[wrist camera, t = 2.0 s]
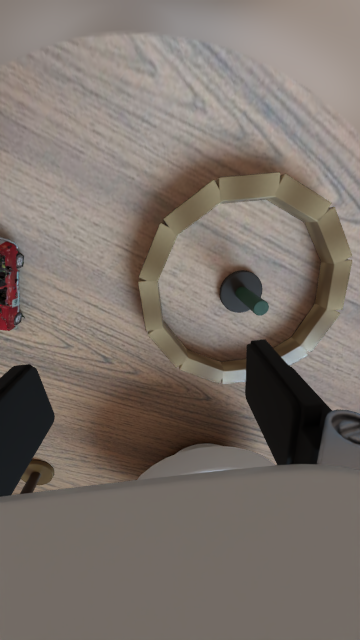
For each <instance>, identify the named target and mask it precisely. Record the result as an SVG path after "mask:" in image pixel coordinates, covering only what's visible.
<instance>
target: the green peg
mask: <svg viewBox="0 0 360 640" xmlns="http://www.w3.org/2000/svg"><path fill="white" fill-rule="evenodd" d="M261 295H262V284H261V282H260V280H259V278H258V277H257V276H256V275H255V274H253V273H251V272H248V271H237V272H234V273H232V274H230V275H229V276H228V277H227V278H226V279H225V280H224V281H223V283H222V285H221V288H220V299H221V301H222V303H223V305H224V306H225V307H226V308H227V309H229V310H230V311H233V312H245V311H248V310H251V311H253V312H254V313H255V314H256V315H264V314H265V313H266V312H267V311H268V308H269V306H268V303H267V302H266V301H264V300H263V299H262V298H261Z"/></svg>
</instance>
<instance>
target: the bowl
mask: <svg viewBox="0 0 360 640" xmlns="http://www.w3.org/2000/svg"><path fill="white" fill-rule="evenodd" d="M274 465H275V464H274V463H273V462H271V461H270V460H269V459H267V458H266V457H264V456H263V455H260V454H258V453H255V452H253V451H250V450H247V449H242V448H237V447H227V446H220V445H216V444H207V443H205V444H196V445H192V446H189V447H187V448H184V449H182V450H181V451H179V452H177V453H176V454H175V455H172V456H170V457H167V458H165V459H163V460H161V461H160V462H158V463H156V464H154V465H153V466H151V467H150V468H149V469H148V470H146V471H145V472H144V473H143V474H142V475H141V476H140V477H139V478H138V479H137V480H142V479H151V478H160V477H169V476H177V475H186V474H195V473H204V472H213V471H222V470H231V469H242V468H253V467H263V466H274Z"/></svg>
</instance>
